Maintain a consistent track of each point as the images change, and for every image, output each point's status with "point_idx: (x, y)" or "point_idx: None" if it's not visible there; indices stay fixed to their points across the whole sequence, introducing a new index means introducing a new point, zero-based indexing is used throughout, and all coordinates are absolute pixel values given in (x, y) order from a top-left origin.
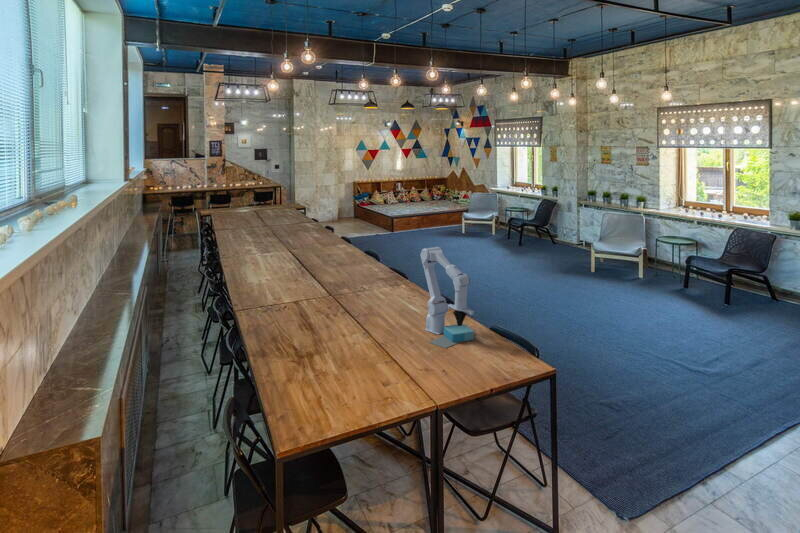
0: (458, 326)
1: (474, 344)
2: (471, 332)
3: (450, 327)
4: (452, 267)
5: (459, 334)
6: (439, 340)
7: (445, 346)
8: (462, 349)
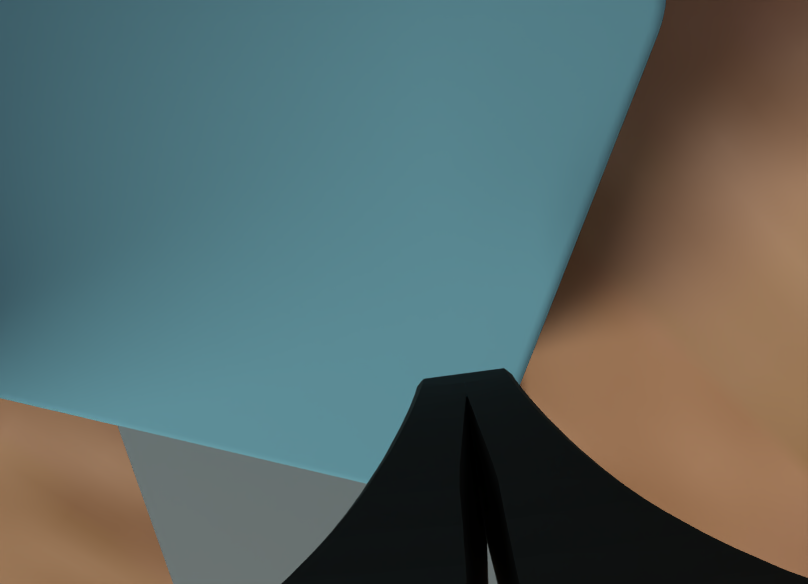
0: (97, 54)
1: (759, 111)
2: (647, 51)
3: (65, 289)
4: None
5: (519, 373)
6: (236, 502)
7: (490, 575)
8: (739, 437)
